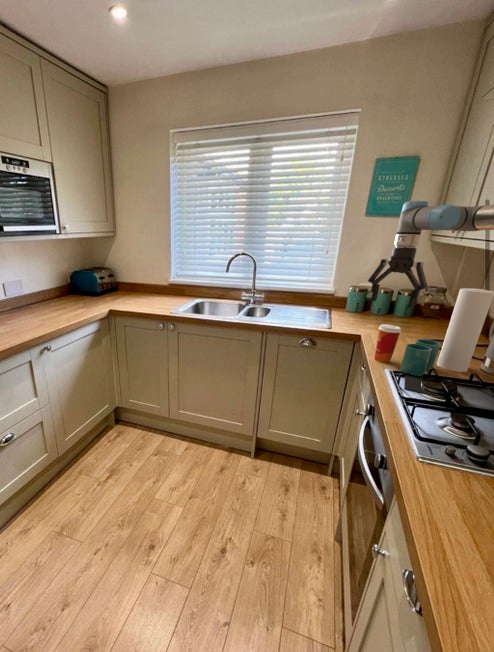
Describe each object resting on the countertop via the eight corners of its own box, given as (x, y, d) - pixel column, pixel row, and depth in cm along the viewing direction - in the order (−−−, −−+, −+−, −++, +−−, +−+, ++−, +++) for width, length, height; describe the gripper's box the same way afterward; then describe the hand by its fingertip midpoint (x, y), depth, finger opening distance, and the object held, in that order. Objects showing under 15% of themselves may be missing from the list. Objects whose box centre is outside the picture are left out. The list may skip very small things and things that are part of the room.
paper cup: (376, 355, 138) (383, 322, 133) (396, 360, 132) (405, 327, 127) (368, 359, 133) (375, 326, 128) (388, 365, 127) (397, 330, 123)
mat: (446, 385, 111) (447, 384, 111) (449, 399, 102) (450, 398, 102) (404, 376, 117) (405, 375, 117) (404, 389, 108) (404, 388, 108)
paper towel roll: (471, 369, 126) (499, 290, 115) (460, 373, 121) (488, 292, 111) (443, 360, 133) (467, 286, 123) (432, 365, 129) (455, 287, 118)
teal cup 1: (423, 371, 122) (431, 346, 119) (424, 378, 116) (432, 352, 113) (400, 367, 126) (406, 342, 122) (399, 373, 120) (406, 347, 117)
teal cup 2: (432, 366, 128) (439, 341, 124) (433, 372, 122) (441, 346, 118) (409, 361, 132) (416, 337, 128) (409, 367, 126) (416, 342, 122)
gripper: (366, 245, 129) (355, 299, 136) (440, 249, 110) (423, 311, 117) (375, 245, 133) (364, 297, 141) (449, 248, 114) (431, 308, 122)
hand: (391, 303), depth 129 cm, fingers open, 13 cm apart
